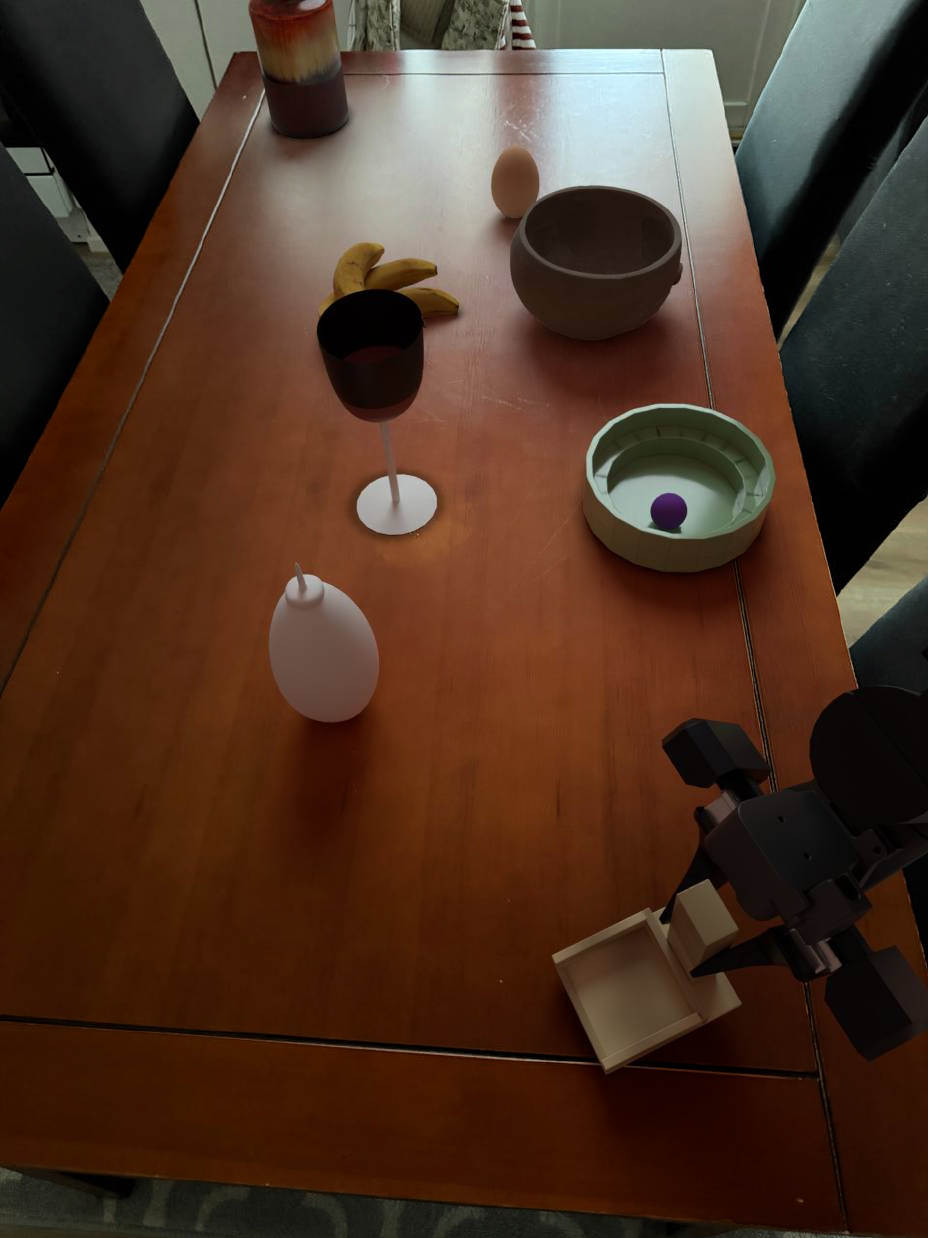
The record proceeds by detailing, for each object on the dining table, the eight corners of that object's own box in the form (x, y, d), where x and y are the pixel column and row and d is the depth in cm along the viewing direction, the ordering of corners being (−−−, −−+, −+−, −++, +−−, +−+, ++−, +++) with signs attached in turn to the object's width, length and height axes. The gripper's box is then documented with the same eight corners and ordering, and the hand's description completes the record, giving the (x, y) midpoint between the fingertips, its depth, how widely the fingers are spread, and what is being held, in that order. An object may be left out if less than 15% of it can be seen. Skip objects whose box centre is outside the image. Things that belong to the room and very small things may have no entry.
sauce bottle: (389, 659, 74) (360, 514, 60) (384, 744, 70) (352, 611, 55) (295, 661, 75) (243, 517, 60) (284, 746, 70) (225, 614, 55)
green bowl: (776, 465, 85) (789, 426, 81) (742, 596, 77) (755, 560, 72) (609, 427, 89) (614, 387, 85) (559, 548, 80) (562, 510, 76)
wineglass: (345, 536, 82) (304, 359, 66) (364, 467, 87) (330, 286, 71) (431, 543, 81) (412, 365, 65) (445, 472, 86) (430, 291, 70)
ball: (657, 481, 79) (691, 491, 80) (642, 509, 82) (674, 518, 82) (662, 503, 77) (696, 512, 78) (646, 531, 79) (679, 540, 80)
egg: (532, 231, 108) (534, 162, 101) (486, 225, 109) (485, 157, 102) (543, 204, 111) (545, 136, 104) (497, 199, 112) (497, 132, 106)
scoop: (680, 900, 60) (696, 840, 50) (741, 1006, 56) (771, 964, 46) (553, 964, 59) (541, 915, 49) (605, 1075, 55) (604, 1048, 45)
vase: (354, 131, 123) (331, -44, 106) (276, 143, 122) (239, -31, 105) (342, 94, 129) (318, -77, 113) (267, 105, 128) (232, -65, 111)
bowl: (692, 285, 101) (709, 200, 93) (635, 382, 92) (647, 298, 84) (551, 248, 106) (555, 165, 98) (484, 337, 97) (482, 253, 89)
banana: (325, 390, 93) (316, 345, 89) (319, 280, 104) (310, 235, 100) (472, 373, 94) (470, 327, 89) (450, 265, 105) (447, 220, 100)
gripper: (722, 635, 45) (520, 811, 52) (993, 998, 35) (698, 1156, 42) (811, 660, 53) (626, 810, 60) (1052, 961, 43) (796, 1099, 50)
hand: (678, 947), depth 52 cm, fingers closed on scoop, 3 cm apart
